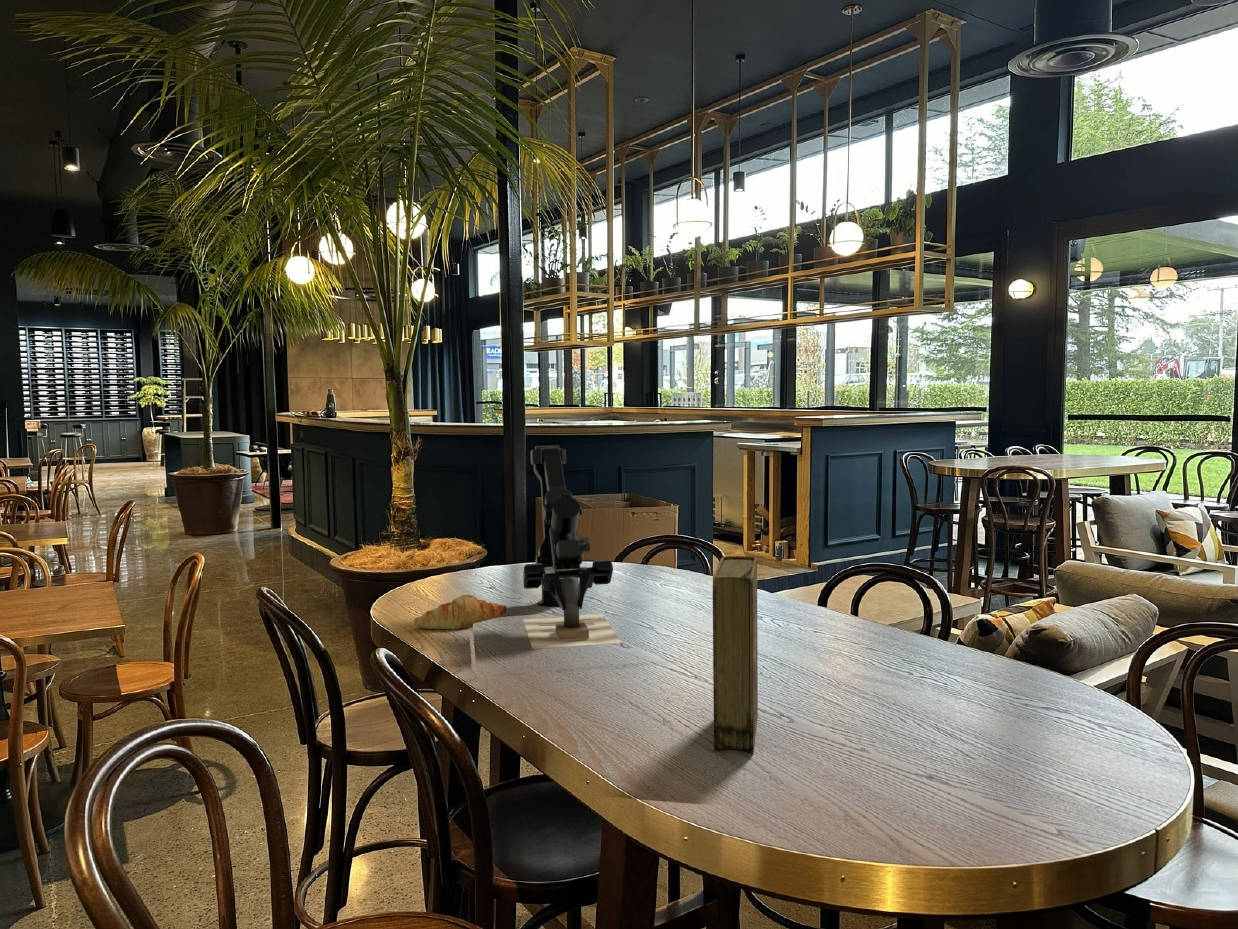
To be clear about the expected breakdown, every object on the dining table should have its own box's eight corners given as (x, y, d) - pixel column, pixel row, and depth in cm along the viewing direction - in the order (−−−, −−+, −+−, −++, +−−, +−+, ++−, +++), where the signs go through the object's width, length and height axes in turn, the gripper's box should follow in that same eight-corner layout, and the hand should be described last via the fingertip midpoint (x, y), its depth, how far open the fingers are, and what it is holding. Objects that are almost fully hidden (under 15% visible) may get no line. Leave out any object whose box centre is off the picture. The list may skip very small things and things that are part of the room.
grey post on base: (555, 632, 177) (554, 576, 176) (583, 630, 178) (582, 574, 177) (559, 641, 170) (558, 582, 169) (588, 639, 172) (587, 581, 171)
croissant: (418, 649, 182) (420, 621, 178) (407, 618, 190) (409, 591, 186) (510, 633, 192) (515, 606, 188) (497, 605, 199) (501, 578, 195)
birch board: (522, 623, 189) (522, 618, 189) (601, 617, 192) (601, 613, 192) (532, 654, 165) (532, 649, 165) (622, 647, 169) (622, 642, 169)
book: (723, 711, 133) (721, 555, 132) (758, 713, 132) (757, 556, 130) (713, 753, 117) (712, 577, 116) (753, 756, 116) (752, 578, 114)
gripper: (522, 526, 175) (528, 590, 165) (610, 522, 178) (621, 584, 168) (520, 556, 183) (526, 619, 173) (604, 552, 187) (615, 613, 177)
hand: (572, 608), depth 173 cm, fingers closed on grey post on base, 3 cm apart
